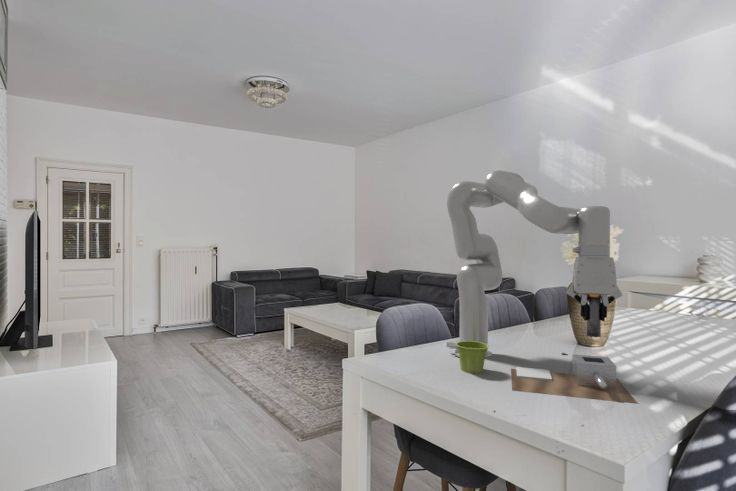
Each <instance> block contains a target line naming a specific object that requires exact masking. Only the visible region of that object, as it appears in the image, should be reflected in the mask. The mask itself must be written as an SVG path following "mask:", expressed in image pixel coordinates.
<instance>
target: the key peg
mask: <svg viewBox="0 0 736 491" xmlns="http://www.w3.org/2000/svg"><path fill="white" fill-rule="evenodd" d="M586 303H587V306H588V320H586V336H587V337H592V338H593V337H594V338H600V337H601V336H602V327H601V326H602V325H601V324H602V321H601V295H594V294H587V299H586Z"/></svg>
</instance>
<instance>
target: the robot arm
mask: <svg viewBox="0 0 736 491" xmlns="http://www.w3.org/2000/svg"><path fill="white" fill-rule="evenodd" d="M502 203H505V204H506V205H508V206H510V207H512V208H513V209H515V210H517V211H518V212H519V213H520V215H521V216H522V217H523V218H524V219H526V220H527V221H528V222H530V223H532V224H534V225H535V226H536V227H537V228H540V229H542V230H543V231H545V232H548V233H551V234H558V235H559V234H561V235H575V234H578V238H577V239H578V241H577V242H578V244H577V246H576V247H572V253H573V254H574V253H576V254H577V256H576V257H575V259H574V263H573V264H574V265H573V271H572V274H573V275H572V282H571V284H570V285H569V287H568V289H567V290H566V292H565V293H566V294H567V295H568V296H570V297H572V298H573V299H575V300H576V301H577V302H578V303H579V304H580V317H582V319H583V320H584V321H587V320H588V306H587V294H594V295H601V322H605V318H606V319H607V318H608V306H609V305H610V304H611V303H613V301H615V300H616V299H619V298H621V297H623V293H622V292H621V290H620V289H619V287H618V285H617V281H618V280H617V271H616V263H615V259H614V257H611V255H610V254H611V211H610V208H609V207H607V206H604V205H603V206H602V205H589V206H584V207H581V208H573V207H567V206H566V207H565V206H558V205H556V204H554V203H552V202H550V201H548V200H547V199H544V198H543V197H541V196H540V195H538V189H537V188H536V187H535V186H534V185H532V184H530V183H528V182H526V181H525V180H524V178H523V177H522V176H521V175H520V174H518V173H515V172H512V171H507V170H502V169H501V170H493V171H492V172H490V173H488V174H487V176H486V178H485V180H484V183H482V182H476V181H470V180H469V181H467V180H465V181H460V182H457V183H456V184H455V185H453V186H452V188H451V189H450V190H449V192H448V195H447V199H446V208H447V212H448V216H449V219H450V220H449V221H450V223H451V227H452V228H451V229H452V235H453V240H454V245H455V251H456V254H457V257H458V258H460V260H464V261H475V262H476V263H468V264H465V265H463V266H461V268H460V269H459V270H458V272H457V274H456V283H457V289H458V296H459V297H458V298H459V300H458V301H459V339H458V341H455V342H452V341H447V342H446V348H449V349H450V350H451V349H453V350H454V349H455V351H454V355H455V356H456V357H458V358H460V357H459V351H458V347H457V346H456V343H457V342H461V341H475V342H481V343H485V344H487V345H488V346H489V304H488V303H489V302H488V298H487V296H486V293H485V291H491V290H496V289H498V287H500V286H501V284H502V281H503V270H502V265H501V260H500V255H499V250H498V245H497V243H496V241H495V239H494V238H493V237H492V236H491V235H489V234H485V233H479V230H478V224H477V219H476V217H475V215H474V214H473V212H472V210H471V207H473V208H490V207H494V206H497V205H500V204H502ZM575 292H576V293H577V294H576V293H575ZM578 294H579V295H578ZM492 355H493V352H492V351H489V347H488V348H487V352H486V354H485V358H488V357H491V356H492Z"/></svg>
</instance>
